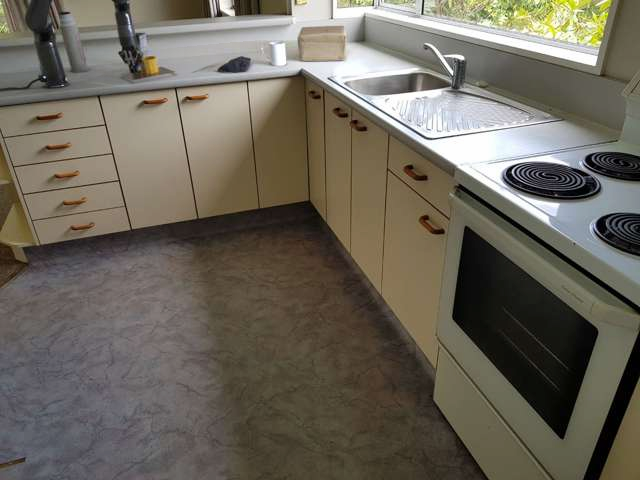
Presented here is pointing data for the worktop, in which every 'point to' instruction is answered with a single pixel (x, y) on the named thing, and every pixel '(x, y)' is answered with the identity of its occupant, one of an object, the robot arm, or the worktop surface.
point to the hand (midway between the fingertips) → (134, 73)
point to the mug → (276, 53)
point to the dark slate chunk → (236, 65)
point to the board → (140, 75)
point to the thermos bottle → (72, 43)
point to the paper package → (322, 43)
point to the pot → (148, 65)
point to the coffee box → (142, 44)
